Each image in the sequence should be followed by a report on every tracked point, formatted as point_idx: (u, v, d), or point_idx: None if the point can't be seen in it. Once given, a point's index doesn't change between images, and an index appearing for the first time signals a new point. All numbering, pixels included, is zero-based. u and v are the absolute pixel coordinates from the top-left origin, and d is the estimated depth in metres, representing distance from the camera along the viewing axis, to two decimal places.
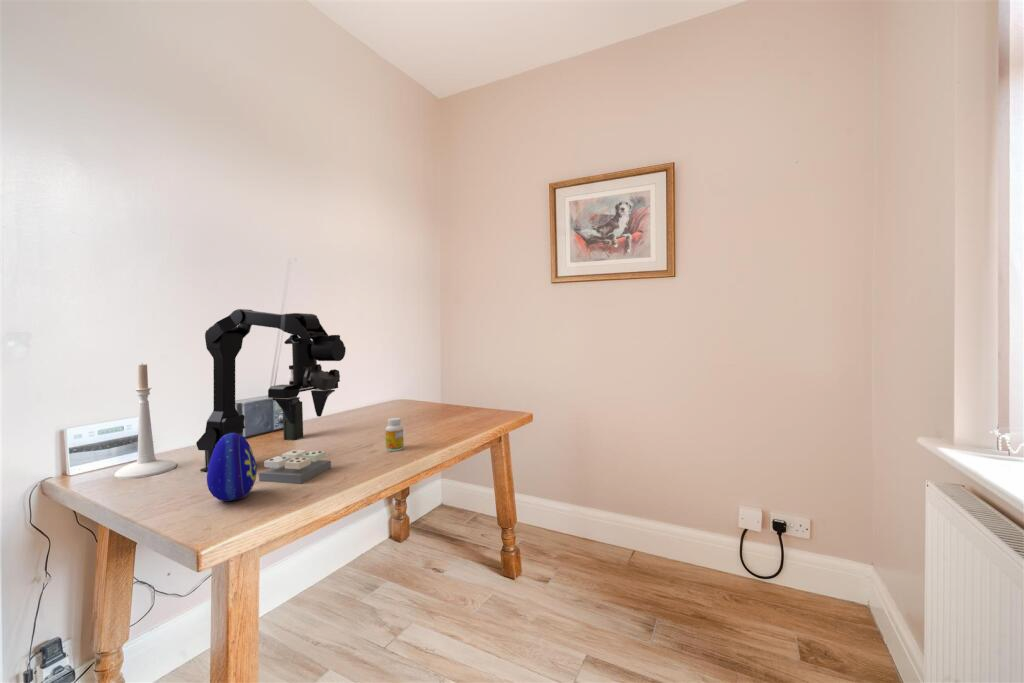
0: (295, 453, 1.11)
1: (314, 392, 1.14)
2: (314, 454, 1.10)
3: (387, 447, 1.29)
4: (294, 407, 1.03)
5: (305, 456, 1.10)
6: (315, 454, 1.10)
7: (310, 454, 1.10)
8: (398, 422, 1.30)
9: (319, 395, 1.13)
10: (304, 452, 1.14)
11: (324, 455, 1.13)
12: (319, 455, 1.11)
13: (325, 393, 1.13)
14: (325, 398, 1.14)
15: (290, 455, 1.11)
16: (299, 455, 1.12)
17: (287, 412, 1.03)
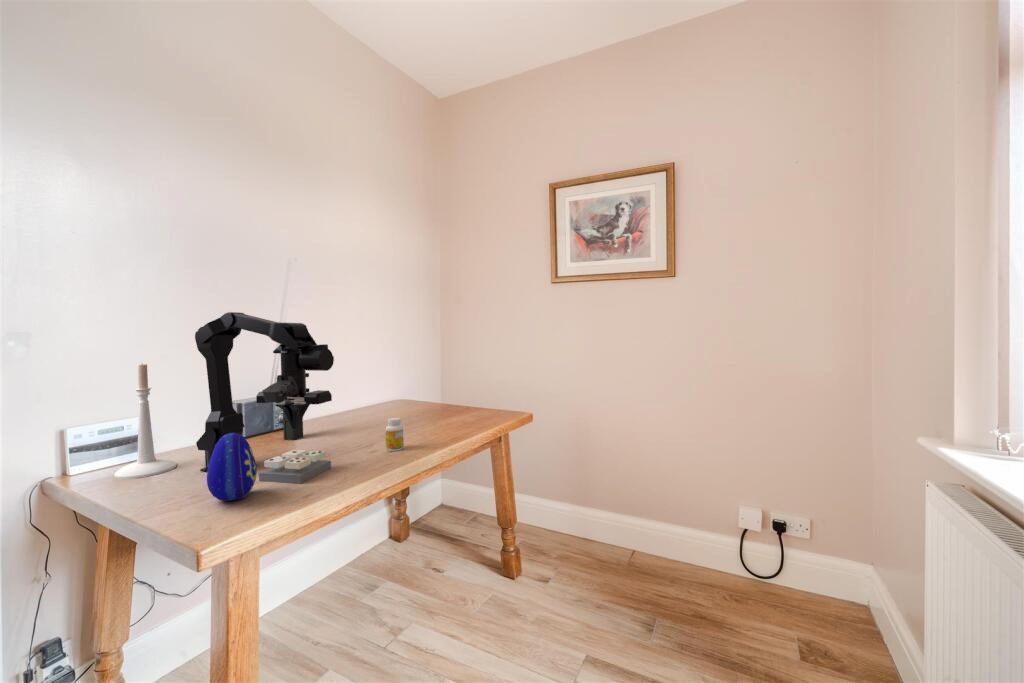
0: (295, 453, 1.11)
1: None
2: (314, 454, 1.10)
3: (387, 447, 1.29)
4: (287, 413, 1.08)
5: (305, 456, 1.10)
6: (315, 454, 1.10)
7: (310, 454, 1.10)
8: (398, 422, 1.30)
9: None
10: (304, 452, 1.14)
11: (324, 455, 1.13)
12: (319, 455, 1.11)
13: None
14: (294, 412, 1.07)
15: (290, 455, 1.11)
16: (299, 455, 1.12)
17: None
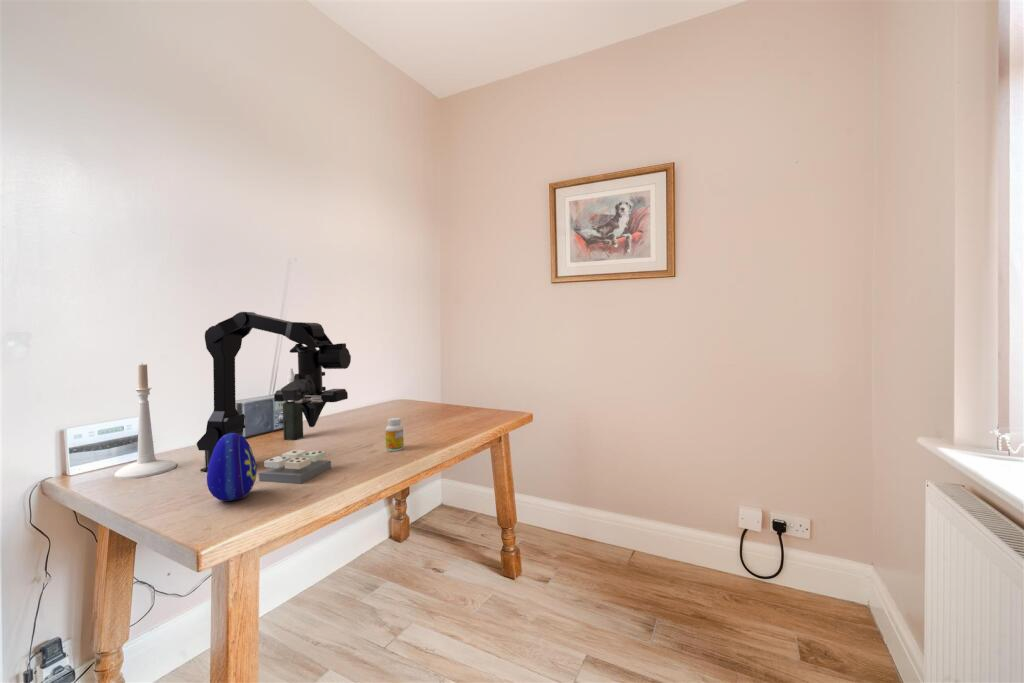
0: (295, 453, 1.11)
1: None
2: (314, 454, 1.10)
3: (387, 447, 1.29)
4: (304, 411, 1.10)
5: (305, 456, 1.10)
6: (315, 454, 1.10)
7: (310, 454, 1.10)
8: (398, 422, 1.30)
9: None
10: (304, 452, 1.14)
11: (324, 455, 1.13)
12: (319, 455, 1.11)
13: None
14: (311, 410, 1.09)
15: (290, 455, 1.11)
16: (299, 455, 1.12)
17: None
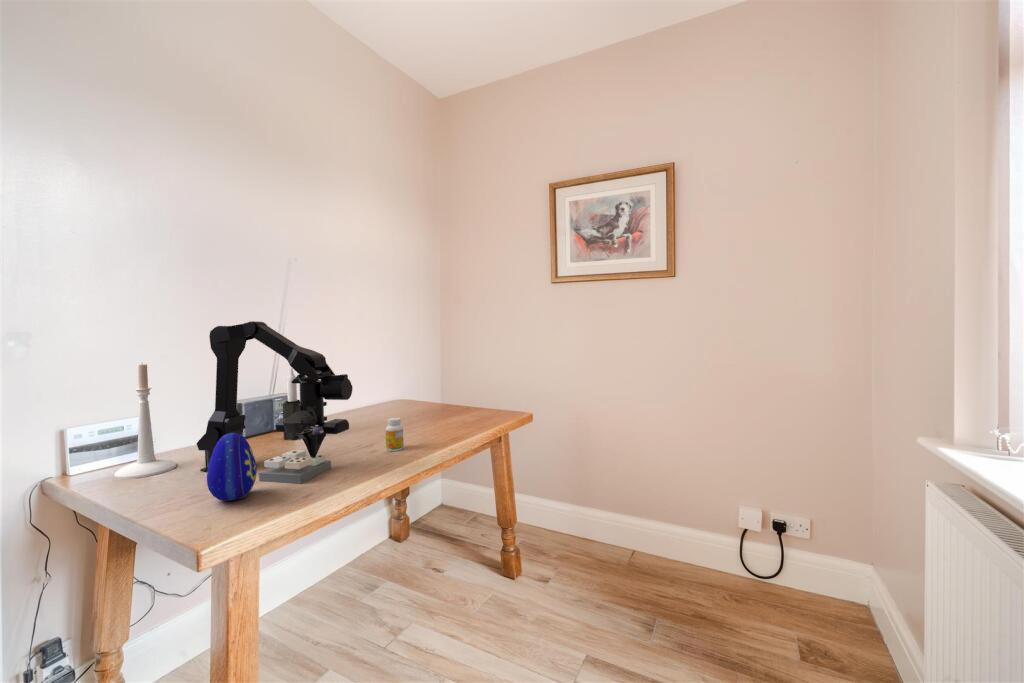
0: (295, 453, 1.11)
1: None
2: (314, 458, 1.10)
3: (387, 447, 1.29)
4: (306, 441, 1.10)
5: None
6: (315, 458, 1.10)
7: None
8: (398, 422, 1.30)
9: None
10: (304, 452, 1.14)
11: (324, 459, 1.13)
12: (319, 459, 1.11)
13: None
14: (313, 440, 1.10)
15: (290, 455, 1.11)
16: (299, 455, 1.12)
17: None
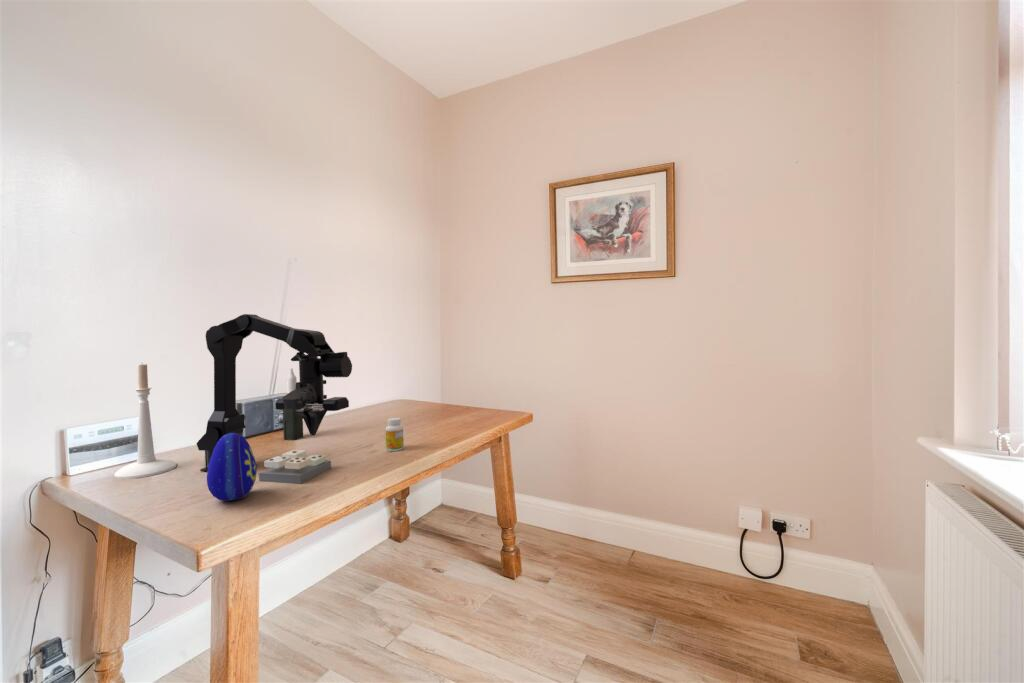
0: (295, 453, 1.11)
1: None
2: (314, 458, 1.10)
3: (387, 447, 1.29)
4: (306, 419, 1.10)
5: None
6: (315, 458, 1.10)
7: None
8: (398, 422, 1.30)
9: None
10: (304, 452, 1.14)
11: (324, 459, 1.13)
12: (319, 459, 1.11)
13: None
14: (312, 418, 1.09)
15: (290, 455, 1.11)
16: (299, 455, 1.12)
17: None
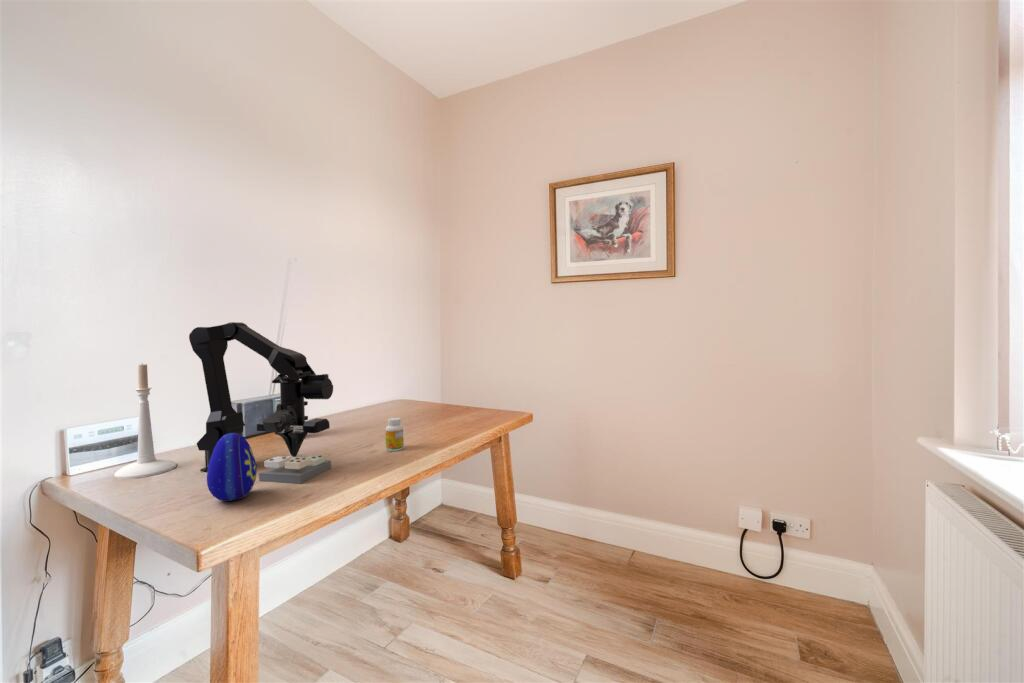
0: (295, 457, 1.11)
1: None
2: (314, 458, 1.10)
3: (387, 447, 1.29)
4: (286, 440, 1.11)
5: None
6: (315, 458, 1.10)
7: None
8: (398, 422, 1.30)
9: None
10: (304, 456, 1.14)
11: (324, 459, 1.13)
12: (319, 459, 1.11)
13: None
14: (293, 439, 1.11)
15: None
16: None
17: None
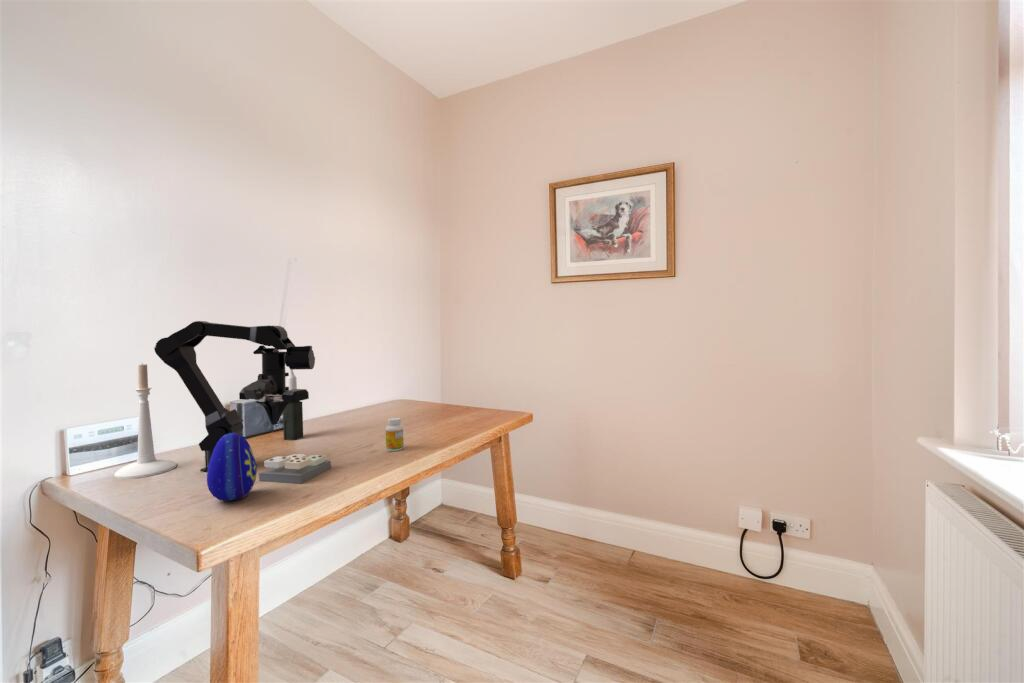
0: (295, 457, 1.12)
1: None
2: (314, 458, 1.10)
3: (387, 447, 1.29)
4: (267, 409, 1.16)
5: None
6: (315, 458, 1.10)
7: None
8: (398, 422, 1.30)
9: None
10: (304, 456, 1.14)
11: (324, 459, 1.13)
12: (319, 459, 1.11)
13: None
14: (273, 408, 1.15)
15: None
16: None
17: None
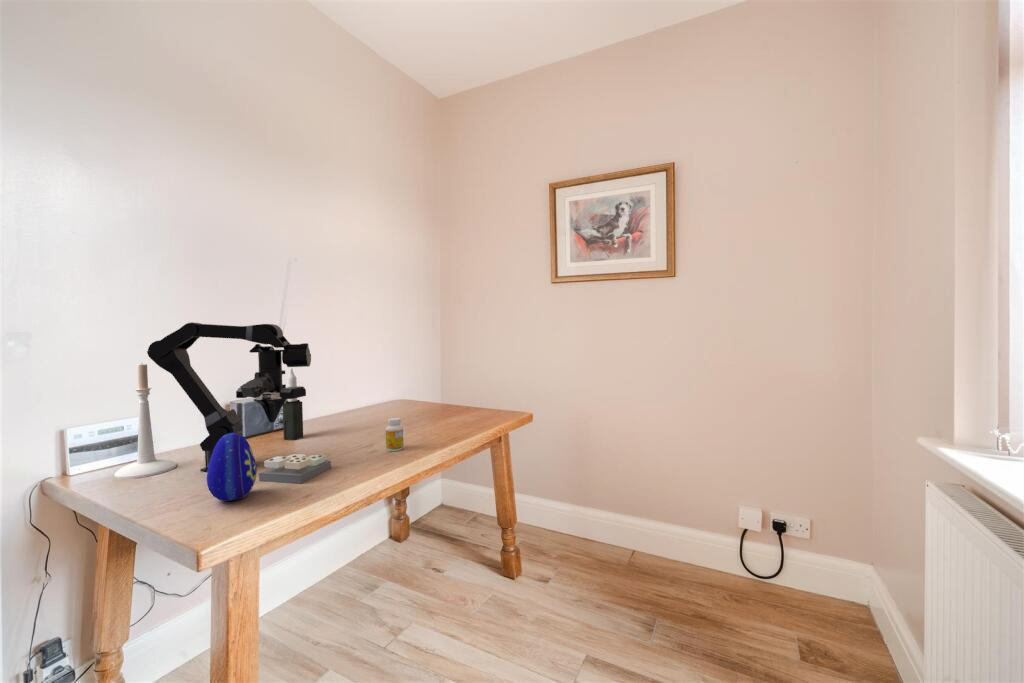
0: (295, 457, 1.12)
1: None
2: (314, 458, 1.10)
3: (387, 447, 1.29)
4: (265, 407, 1.17)
5: None
6: (315, 458, 1.10)
7: None
8: (398, 422, 1.30)
9: None
10: (304, 456, 1.14)
11: (324, 459, 1.13)
12: (319, 459, 1.11)
13: None
14: (271, 406, 1.16)
15: None
16: None
17: None
